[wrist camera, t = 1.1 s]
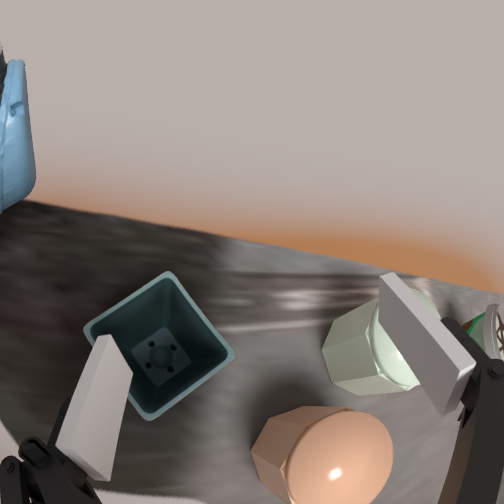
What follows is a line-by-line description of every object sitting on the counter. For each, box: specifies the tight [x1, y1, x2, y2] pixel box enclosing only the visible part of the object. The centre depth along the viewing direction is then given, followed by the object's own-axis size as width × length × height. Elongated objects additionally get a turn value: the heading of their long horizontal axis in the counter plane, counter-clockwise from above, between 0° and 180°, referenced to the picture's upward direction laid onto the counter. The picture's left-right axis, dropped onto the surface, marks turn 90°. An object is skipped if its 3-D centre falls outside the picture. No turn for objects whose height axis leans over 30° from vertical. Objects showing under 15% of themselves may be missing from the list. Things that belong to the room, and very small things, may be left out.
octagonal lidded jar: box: [250, 406, 393, 504], centre depth 24 cm, size 10×10×10 cm
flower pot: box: [83, 271, 235, 421], centre depth 25 cm, size 9×9×9 cm
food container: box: [461, 304, 504, 361], centre depth 34 cm, size 12×6×10 cm, turn 28°
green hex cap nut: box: [321, 288, 441, 396], centre depth 31 cm, size 10×10×10 cm
